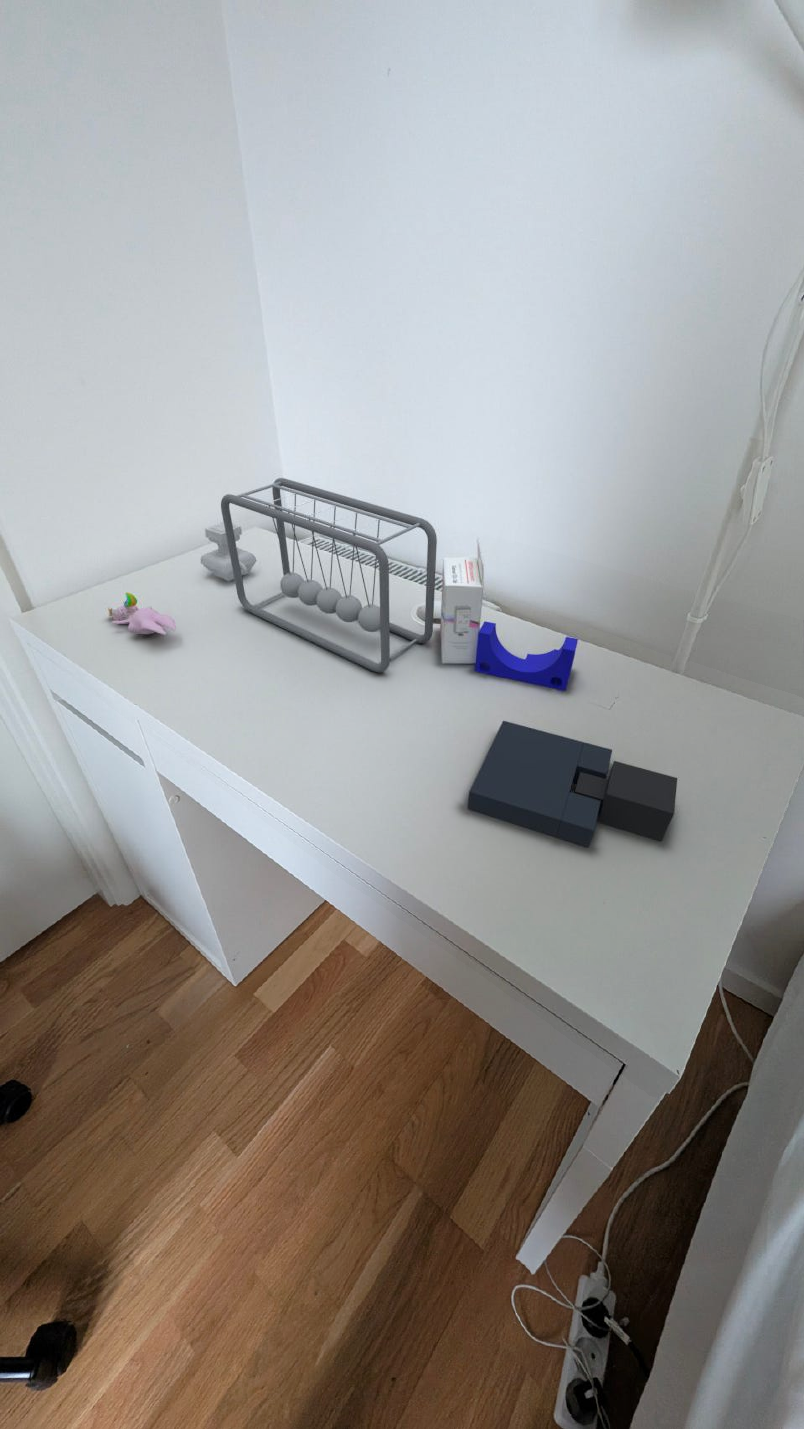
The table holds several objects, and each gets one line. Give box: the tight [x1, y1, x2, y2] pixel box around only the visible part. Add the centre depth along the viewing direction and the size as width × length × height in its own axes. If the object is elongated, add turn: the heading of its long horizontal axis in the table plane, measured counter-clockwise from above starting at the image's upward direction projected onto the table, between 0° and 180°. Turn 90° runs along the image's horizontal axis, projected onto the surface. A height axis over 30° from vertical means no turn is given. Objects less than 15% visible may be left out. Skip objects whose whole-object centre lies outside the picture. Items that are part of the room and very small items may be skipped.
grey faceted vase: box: [200, 521, 258, 582], centre depth 96 cm, size 9×7×8 cm
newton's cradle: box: [220, 477, 438, 673], centre depth 80 cm, size 30×10×18 cm, turn 51°
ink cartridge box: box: [439, 536, 485, 665], centre depth 77 cm, size 9×5×15 cm, turn 179°
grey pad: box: [467, 720, 613, 848], centre depth 60 cm, size 12×12×2 cm
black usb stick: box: [573, 760, 678, 842], centre depth 57 cm, size 9×5×4 cm, turn 66°
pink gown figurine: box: [107, 592, 177, 636], centre depth 83 cm, size 6×6×15 cm
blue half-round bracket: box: [474, 620, 579, 692], centre depth 75 cm, size 12×4×6 cm, turn 69°
